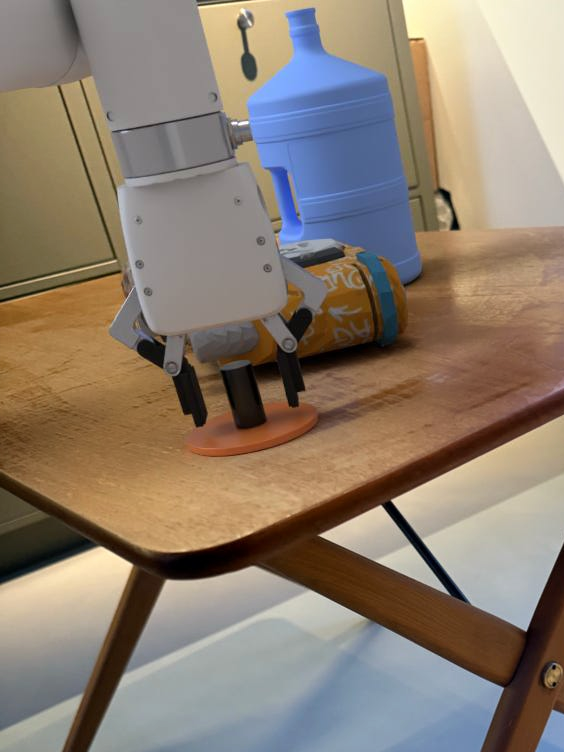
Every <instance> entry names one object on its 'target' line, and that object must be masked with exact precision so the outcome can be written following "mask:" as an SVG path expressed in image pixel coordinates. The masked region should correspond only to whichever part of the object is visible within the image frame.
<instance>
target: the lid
mask: <svg viewBox="0 0 564 752" xmlns="http://www.w3.org/2000/svg"><path fill="white" fill-rule="evenodd" d="M218 370H219V373H220V377H221V381H222V384H223V387H224V391H225V394H226V398H227V401H228V404H229V409H230V410H229V411H227V412H224V413H221V414H218V415H216V416H213V417H211V418H210V419H207V420H206V424H204V426H203V427H198V428H196V426H195V427H193V428H192V429H191V430H190V431H189V432H188V433H187V434H186V437H185V442H186V445H187V448H188V450H189V451H190V452H192V453H194V454H196V455H199V454H200V456H205V457H206V456H207V457H208V456H209V457H225V456H237V455H243V454H247V453H254V452H257V451H261V450H267V449H270V448H272V447H275V446H276V447H277V446H278V445H281V444H284V443H287V442H289V441H291V440H294V439H296V438H298V437H300V436H302V435H304V434H305V433H307V432H309V431H310V430H311V429H313V428H314V427H315V426H316V425H317V423H318V421H319V413H318V410H317V407H316V406H314V405H313V404H312V403H311V404H310V403H308V402H304V401H299V407H295V408H292V406H291V407H289V405H288V401H287V400H286V401H273V402H266V403H263V399H262V395H261V392H260V388H259V384H258V380H257V377H256V374H255V370H254V366H253V365H252V362H251V361H249V360H240V361H234V362H230V363H227V364H225V365H223V366H221V367H220V366H219V369H218Z"/></svg>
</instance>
